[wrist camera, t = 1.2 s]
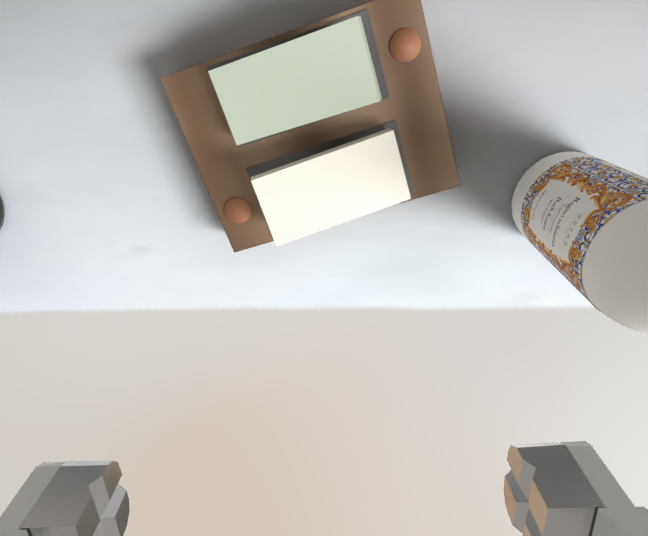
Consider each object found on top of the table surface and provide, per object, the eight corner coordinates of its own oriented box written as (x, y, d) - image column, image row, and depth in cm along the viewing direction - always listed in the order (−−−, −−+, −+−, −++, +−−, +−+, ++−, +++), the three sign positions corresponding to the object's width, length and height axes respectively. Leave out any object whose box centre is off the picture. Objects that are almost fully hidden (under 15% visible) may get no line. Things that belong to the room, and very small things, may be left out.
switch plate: (410, -10, 30) (420, -18, 26) (450, 174, 35) (463, 189, 31) (175, 75, 32) (154, 79, 29) (242, 237, 37) (231, 257, 33)
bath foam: (535, 136, 33) (775, 241, 15) (626, 166, 34) (961, 300, 16) (493, 228, 36) (651, 409, 18) (577, 253, 37) (814, 454, 18)
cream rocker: (388, 128, 30) (393, 130, 29) (405, 194, 32) (411, 198, 31) (250, 177, 30) (250, 180, 29) (275, 240, 32) (276, 246, 30)
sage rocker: (360, 15, 26) (357, 16, 25) (381, 98, 28) (380, 101, 27) (216, 69, 29) (208, 71, 28) (243, 141, 31) (236, 145, 30)
